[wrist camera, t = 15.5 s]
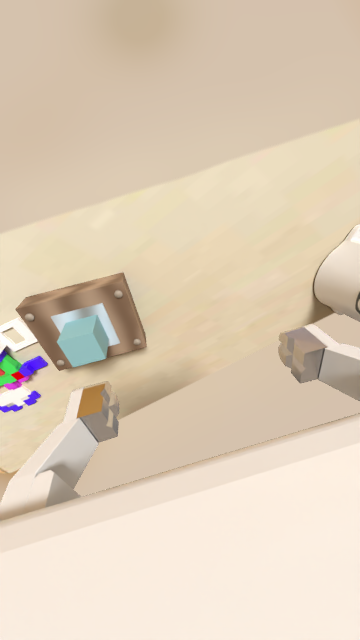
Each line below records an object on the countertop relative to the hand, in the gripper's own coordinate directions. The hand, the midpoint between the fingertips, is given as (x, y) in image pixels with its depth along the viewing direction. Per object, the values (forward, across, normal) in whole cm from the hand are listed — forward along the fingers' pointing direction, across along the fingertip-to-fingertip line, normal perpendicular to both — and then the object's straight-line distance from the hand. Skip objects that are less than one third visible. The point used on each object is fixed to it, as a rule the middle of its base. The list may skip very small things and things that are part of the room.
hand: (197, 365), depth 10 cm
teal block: (+25, +14, +11) cm, 30 cm away
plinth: (+29, +14, +11) cm, 34 cm away
